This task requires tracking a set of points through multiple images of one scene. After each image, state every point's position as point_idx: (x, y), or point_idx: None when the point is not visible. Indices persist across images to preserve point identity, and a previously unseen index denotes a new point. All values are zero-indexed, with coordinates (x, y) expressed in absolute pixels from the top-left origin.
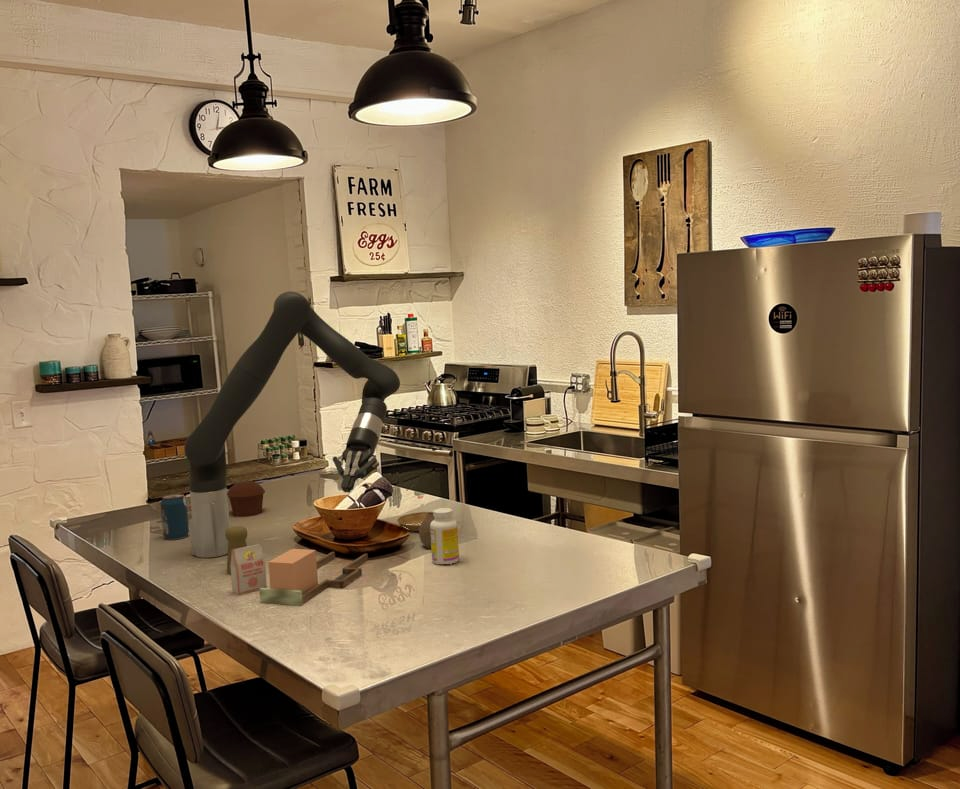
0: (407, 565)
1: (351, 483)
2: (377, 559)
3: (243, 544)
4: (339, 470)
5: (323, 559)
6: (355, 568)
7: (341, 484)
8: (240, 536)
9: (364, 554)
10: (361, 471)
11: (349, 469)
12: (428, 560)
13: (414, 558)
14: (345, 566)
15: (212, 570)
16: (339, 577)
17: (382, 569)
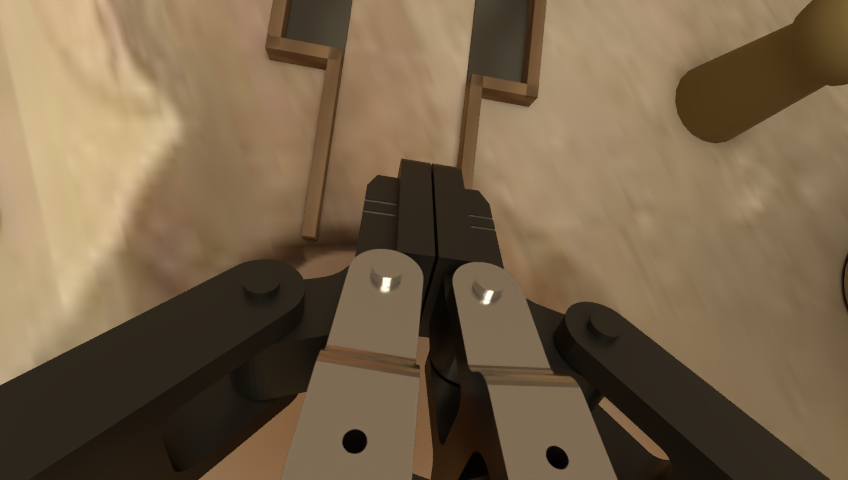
0: (110, 171)
1: (367, 201)
2: (265, 244)
3: (771, 44)
4: (620, 325)
5: (461, 165)
6: (289, 48)
7: (486, 208)
8: (810, 4)
9: (311, 225)
10: (212, 281)
11: (461, 347)
12: (26, 240)
13: (100, 265)
14: (338, 72)
15: (793, 107)
16: (340, 19)
17: (205, 121)
